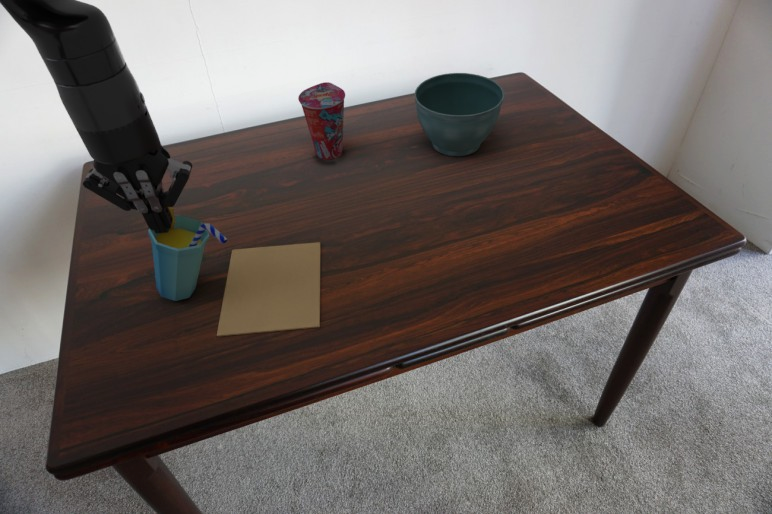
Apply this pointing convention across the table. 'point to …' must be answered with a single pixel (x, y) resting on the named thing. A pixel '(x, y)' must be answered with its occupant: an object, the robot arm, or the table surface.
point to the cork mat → (272, 290)
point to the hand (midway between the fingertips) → (163, 228)
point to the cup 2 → (324, 118)
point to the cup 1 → (180, 255)
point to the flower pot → (458, 111)
